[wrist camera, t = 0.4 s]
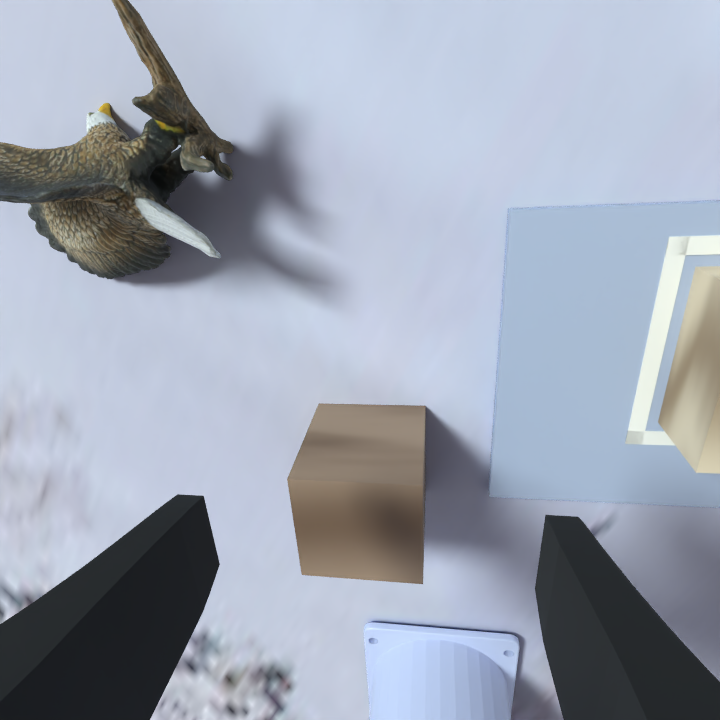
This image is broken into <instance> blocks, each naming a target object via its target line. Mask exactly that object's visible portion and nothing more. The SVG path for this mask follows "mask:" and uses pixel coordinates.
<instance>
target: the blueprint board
mask: <svg viewBox="0 0 720 720" xmlns="http://www.w3.org/2000/svg"><path fill="white" fill-rule="evenodd" d="M703 266H720V201H695V202H669V203H643V204H617V205H590V206H564V207H538V208H512V209H508V221H507V235H506V249H505V263H504V277H503V292H502V306H501V320H500V334H499V348H498V362H497V377H496V391H495V405H494V419H493V433H492V447H491V461H490V476H489V490H488V491H489V497H498V498H519V499H541V500H562V501H584V502H605V503H627V504H648V505H670V506H691V507H712V508H720V474H717V473H696V472H695V471H694V469H693V468H692V467H691V465H690V464H689V463H688V461H687V460H686V459H685V457H684V456H683V455H682V454H681V452H680V451H679V450H678V448H677V447H676V446H675V444H674V443H673V442H672V440H671V439H670V438H669V436H668V435H667V434H666V432H665V431H664V430H663V428H662V427H661V426H660V424H659V423H658V420H659V415H660V411H661V407H662V403H663V399H664V395H665V391H666V386H667V382H668V378H669V374H670V370H671V366H672V362H673V358H674V353H675V349H676V345H677V341H678V337H679V333H680V329H681V324H682V320H683V316H684V312H685V308H686V304H687V300H688V295H689V291H690V287H691V283H692V279H693V275H694V271H695V267H703Z"/></svg>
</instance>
